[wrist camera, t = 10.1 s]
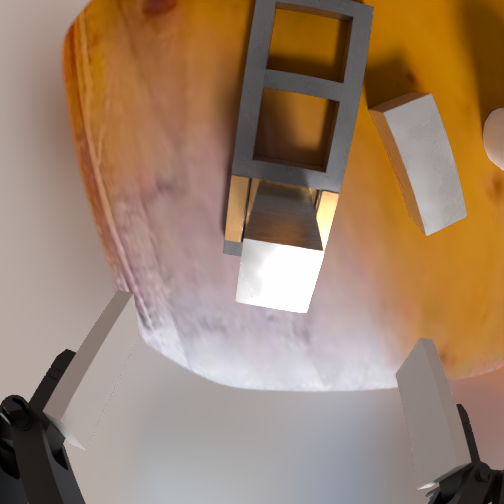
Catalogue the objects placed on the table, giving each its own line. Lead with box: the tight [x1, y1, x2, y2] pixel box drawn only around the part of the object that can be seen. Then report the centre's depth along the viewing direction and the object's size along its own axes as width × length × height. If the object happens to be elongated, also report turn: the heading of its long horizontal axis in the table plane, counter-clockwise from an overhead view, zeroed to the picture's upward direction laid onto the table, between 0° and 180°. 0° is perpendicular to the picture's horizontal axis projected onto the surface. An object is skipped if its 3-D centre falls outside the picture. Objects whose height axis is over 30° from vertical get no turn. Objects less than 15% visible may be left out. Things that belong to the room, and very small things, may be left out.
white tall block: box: [235, 182, 324, 313], centre depth 22 cm, size 4×4×11 cm
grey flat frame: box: [223, 0, 374, 256], centre depth 23 cm, size 24×9×2 cm, turn 172°
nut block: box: [368, 92, 467, 236], centre depth 22 cm, size 11×4×4 cm, turn 30°
